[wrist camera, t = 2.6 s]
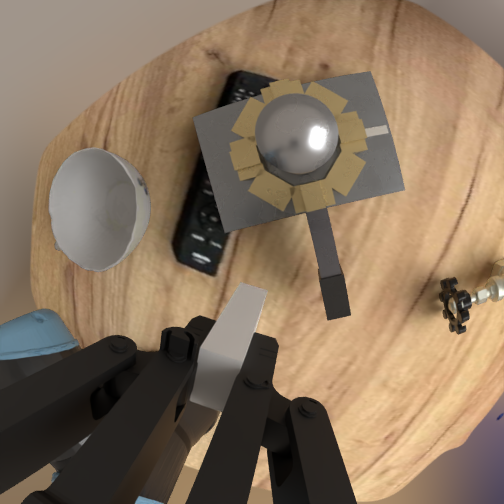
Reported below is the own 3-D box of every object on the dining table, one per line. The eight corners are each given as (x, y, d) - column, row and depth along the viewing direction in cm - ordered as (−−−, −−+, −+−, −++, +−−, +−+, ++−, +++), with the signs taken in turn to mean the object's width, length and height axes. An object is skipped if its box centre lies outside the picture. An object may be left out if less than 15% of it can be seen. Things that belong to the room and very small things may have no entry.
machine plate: (232, 227, 32) (187, 260, 20) (202, 122, 30) (142, 94, 18) (396, 188, 28) (451, 198, 16) (364, 80, 26) (398, 27, 14)
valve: (510, 243, 27) (436, 270, 30) (540, 257, 21) (461, 291, 23) (511, 290, 28) (440, 319, 31) (537, 309, 22) (461, 346, 25)
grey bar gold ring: (283, 314, 30) (279, 333, 27) (226, 109, 26) (214, 100, 22) (388, 291, 28) (398, 307, 24) (338, 80, 24) (343, 66, 20)
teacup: (141, 129, 31) (100, 121, 24) (192, 220, 33) (160, 233, 25) (66, 199, 35) (24, 207, 28) (107, 277, 37) (69, 299, 29)
